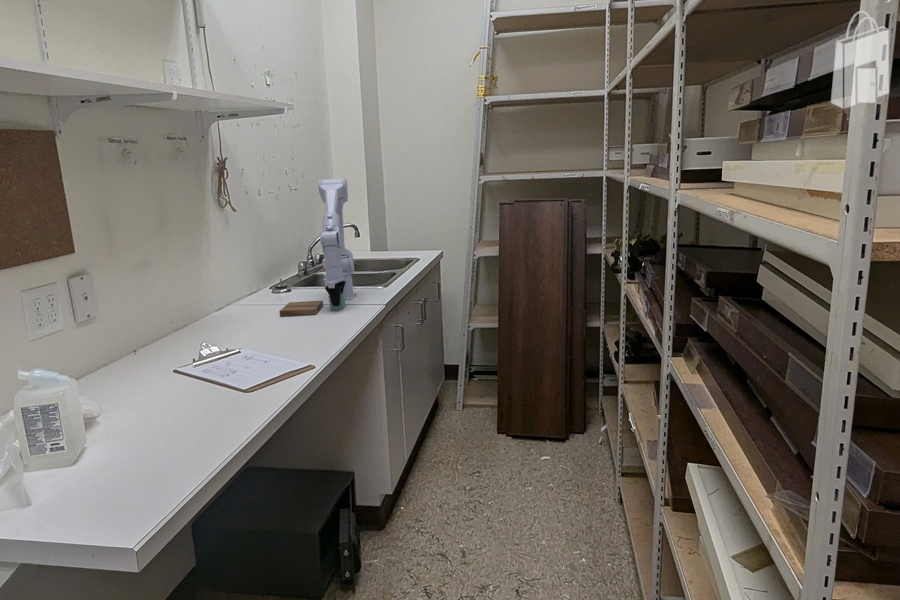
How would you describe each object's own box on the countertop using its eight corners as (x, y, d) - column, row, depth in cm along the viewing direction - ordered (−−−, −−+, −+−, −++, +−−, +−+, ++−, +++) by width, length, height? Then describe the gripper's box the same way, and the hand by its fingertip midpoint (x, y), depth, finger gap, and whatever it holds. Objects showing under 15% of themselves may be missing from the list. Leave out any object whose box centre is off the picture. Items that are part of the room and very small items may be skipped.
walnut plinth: (289, 307, 204) (289, 302, 203) (323, 306, 204) (322, 300, 203) (280, 316, 192) (279, 311, 192) (315, 314, 192) (315, 309, 192)
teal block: (332, 306, 202) (331, 292, 201) (345, 306, 202) (344, 292, 201) (330, 310, 198) (328, 295, 197) (343, 309, 198) (341, 295, 196)
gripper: (326, 262, 203) (330, 299, 207) (317, 270, 189) (321, 309, 193) (346, 261, 203) (349, 298, 207) (338, 269, 189) (342, 308, 192)
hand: (337, 304), depth 200 cm, fingers closed on teal block, 4 cm apart
